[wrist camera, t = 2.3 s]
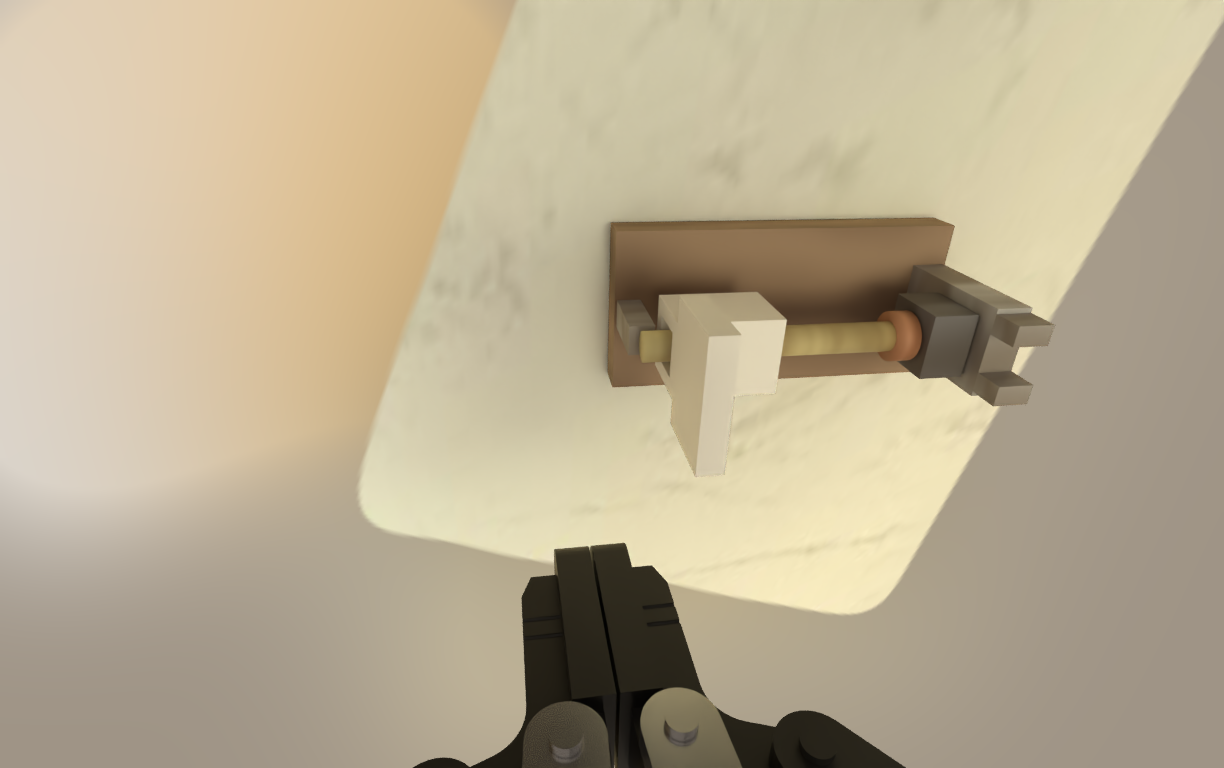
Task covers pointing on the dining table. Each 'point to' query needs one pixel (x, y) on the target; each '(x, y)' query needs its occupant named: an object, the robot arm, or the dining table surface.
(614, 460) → the dining table surface
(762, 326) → the cream stepped block
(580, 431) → the dining table surface
